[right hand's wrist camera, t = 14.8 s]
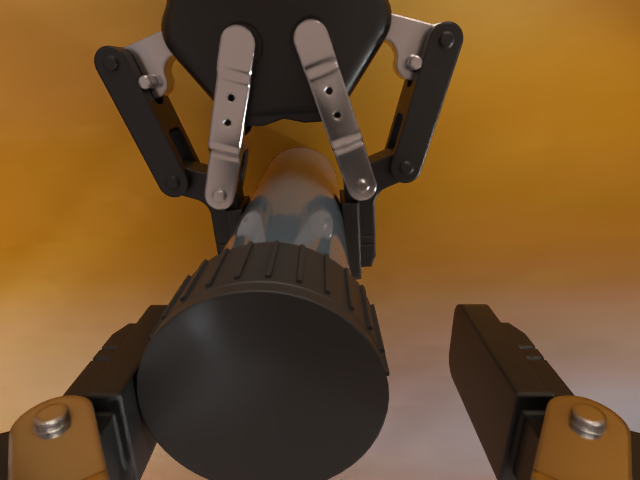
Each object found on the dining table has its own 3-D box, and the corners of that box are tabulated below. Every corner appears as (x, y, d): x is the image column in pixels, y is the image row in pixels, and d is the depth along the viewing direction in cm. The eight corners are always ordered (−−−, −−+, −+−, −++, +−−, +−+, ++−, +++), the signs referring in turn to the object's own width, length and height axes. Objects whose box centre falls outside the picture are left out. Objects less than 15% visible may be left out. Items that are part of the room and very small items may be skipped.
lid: (264, 191, 9) (246, 229, 7) (420, 329, 11) (447, 398, 8) (130, 336, 11) (80, 405, 9) (283, 442, 12) (275, 527, 10)
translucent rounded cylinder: (339, 149, 24) (376, 299, 8) (334, 219, 26) (357, 460, 10) (265, 145, 24) (158, 288, 8) (264, 215, 26) (172, 452, 10)
